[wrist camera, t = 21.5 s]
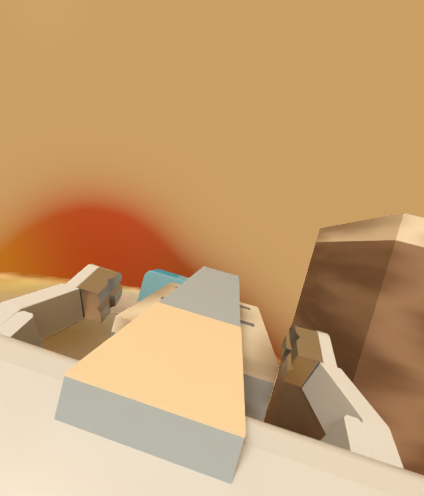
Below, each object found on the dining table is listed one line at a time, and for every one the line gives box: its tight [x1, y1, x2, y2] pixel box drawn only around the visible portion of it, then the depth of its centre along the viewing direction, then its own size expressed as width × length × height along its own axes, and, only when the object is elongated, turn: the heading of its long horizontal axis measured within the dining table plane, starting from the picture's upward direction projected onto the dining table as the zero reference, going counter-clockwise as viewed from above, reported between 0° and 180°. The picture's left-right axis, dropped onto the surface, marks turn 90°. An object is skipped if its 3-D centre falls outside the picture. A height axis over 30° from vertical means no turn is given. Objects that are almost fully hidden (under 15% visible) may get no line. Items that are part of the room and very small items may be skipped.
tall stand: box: [264, 213, 424, 475], centre depth 20 cm, size 11×13×26 cm
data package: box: [137, 269, 188, 303], centre depth 53 cm, size 12×4×12 cm, turn 80°
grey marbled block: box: [110, 282, 279, 422], centre depth 21 cm, size 10×13×16 cm
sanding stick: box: [54, 267, 246, 484], centre depth 16 cm, size 4×22×3 cm, turn 174°
